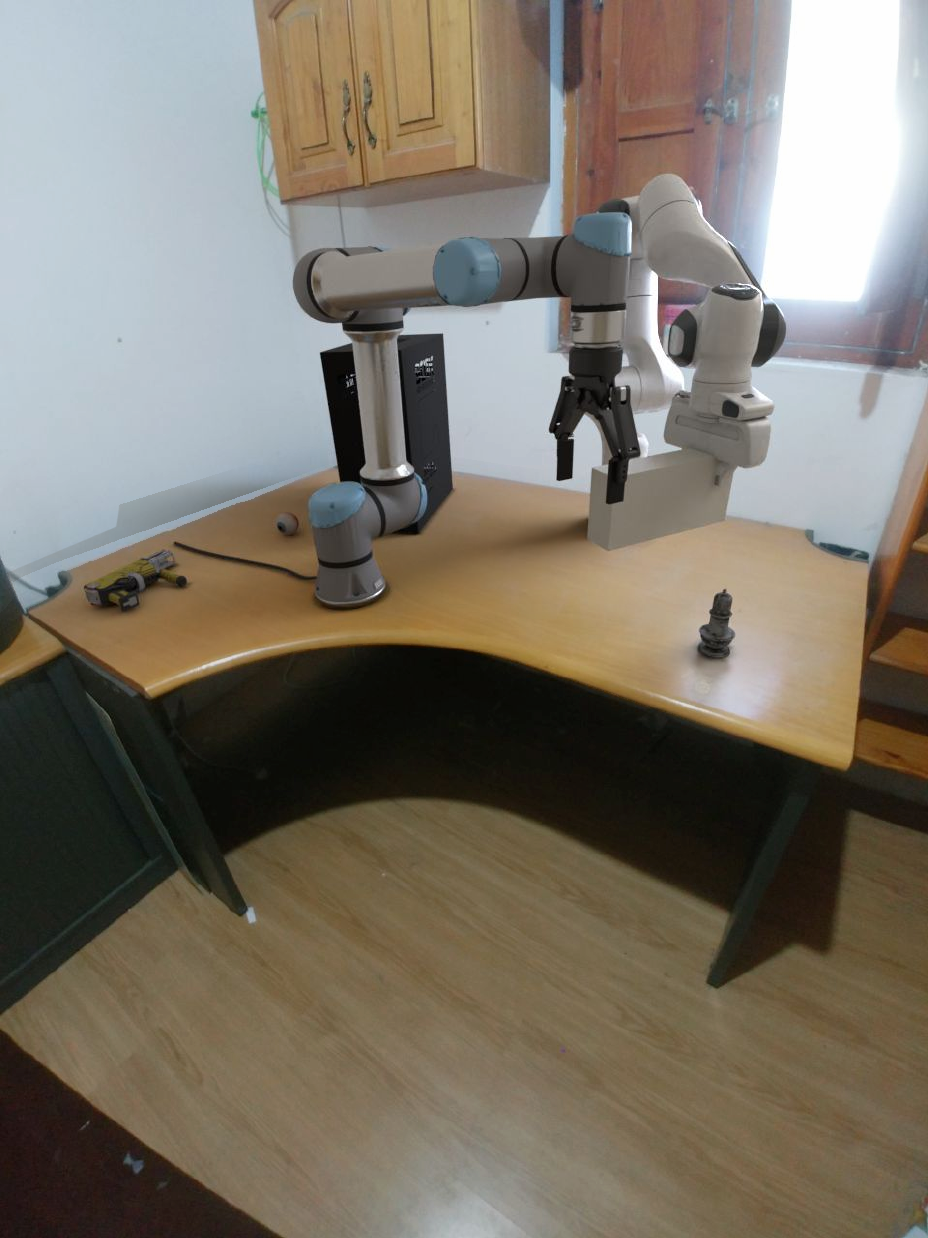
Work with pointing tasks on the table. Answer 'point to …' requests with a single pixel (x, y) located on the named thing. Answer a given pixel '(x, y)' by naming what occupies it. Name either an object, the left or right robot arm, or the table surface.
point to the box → (658, 499)
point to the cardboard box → (419, 410)
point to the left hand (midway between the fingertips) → (588, 490)
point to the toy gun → (132, 581)
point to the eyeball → (287, 523)
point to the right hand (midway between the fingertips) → (705, 480)
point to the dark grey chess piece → (717, 628)
